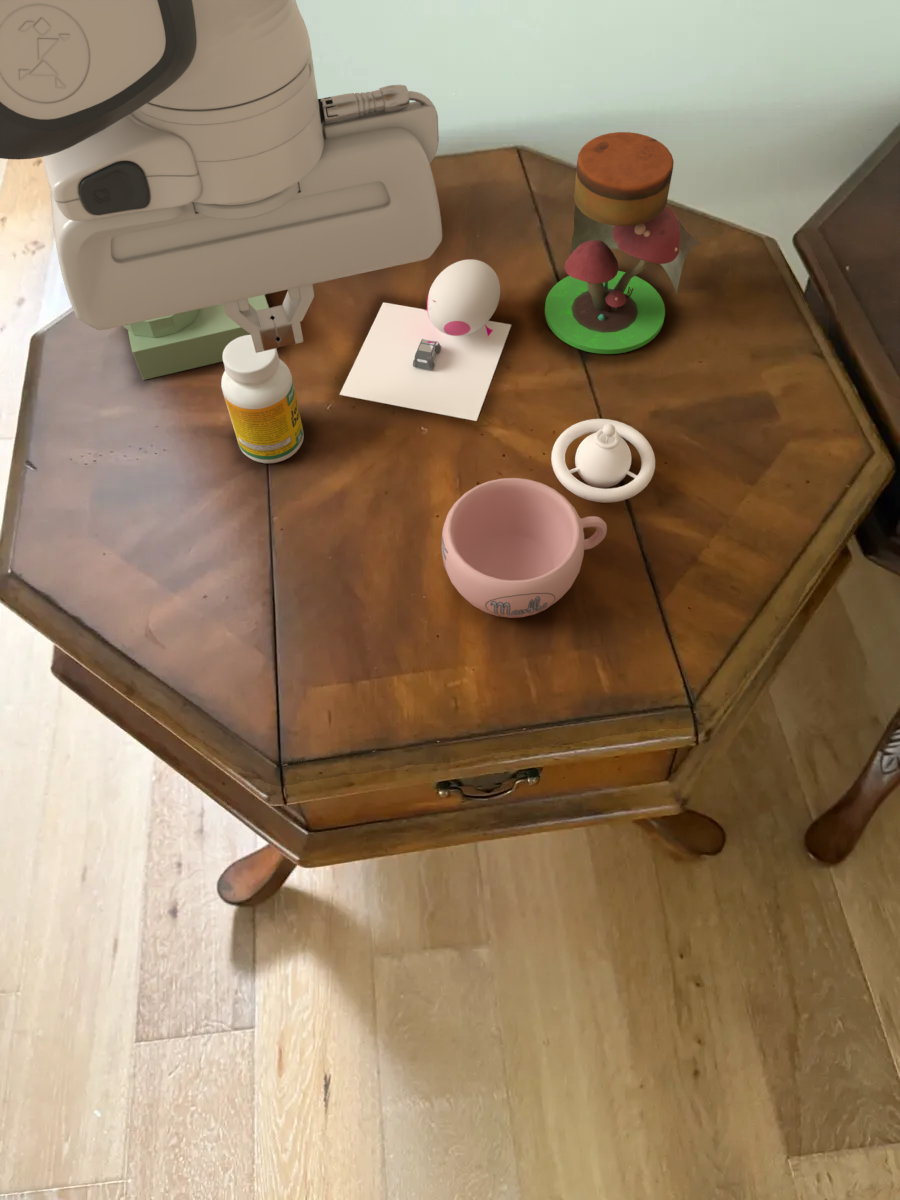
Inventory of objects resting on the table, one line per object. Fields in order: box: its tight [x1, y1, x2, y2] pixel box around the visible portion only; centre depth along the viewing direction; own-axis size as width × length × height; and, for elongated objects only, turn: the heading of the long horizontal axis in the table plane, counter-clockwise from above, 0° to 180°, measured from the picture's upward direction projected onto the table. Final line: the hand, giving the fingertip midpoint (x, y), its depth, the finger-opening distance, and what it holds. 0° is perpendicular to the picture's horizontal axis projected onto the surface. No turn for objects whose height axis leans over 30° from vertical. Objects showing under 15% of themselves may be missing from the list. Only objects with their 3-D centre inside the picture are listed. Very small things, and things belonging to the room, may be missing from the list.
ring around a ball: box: [550, 418, 656, 504], centre depth 74 cm, size 8×6×8 cm
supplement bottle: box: [220, 335, 305, 464], centre depth 75 cm, size 5×5×10 cm
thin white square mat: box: [339, 302, 512, 422], centre depth 83 cm, size 12×12×2 cm
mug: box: [440, 477, 608, 619], centre depth 69 cm, size 12×10×6 cm
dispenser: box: [122, 294, 279, 381], centre depth 84 cm, size 12×9×5 cm
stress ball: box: [421, 258, 501, 336], centre depth 84 cm, size 8×8×7 cm
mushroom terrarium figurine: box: [544, 131, 702, 355], centre depth 80 cm, size 12×13×15 cm
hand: (277, 341), depth 58 cm, fingers closed
